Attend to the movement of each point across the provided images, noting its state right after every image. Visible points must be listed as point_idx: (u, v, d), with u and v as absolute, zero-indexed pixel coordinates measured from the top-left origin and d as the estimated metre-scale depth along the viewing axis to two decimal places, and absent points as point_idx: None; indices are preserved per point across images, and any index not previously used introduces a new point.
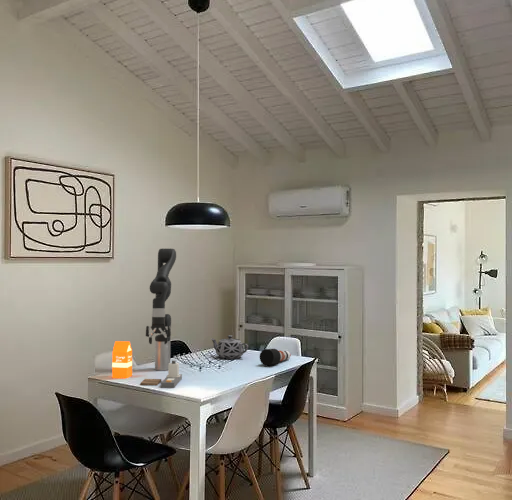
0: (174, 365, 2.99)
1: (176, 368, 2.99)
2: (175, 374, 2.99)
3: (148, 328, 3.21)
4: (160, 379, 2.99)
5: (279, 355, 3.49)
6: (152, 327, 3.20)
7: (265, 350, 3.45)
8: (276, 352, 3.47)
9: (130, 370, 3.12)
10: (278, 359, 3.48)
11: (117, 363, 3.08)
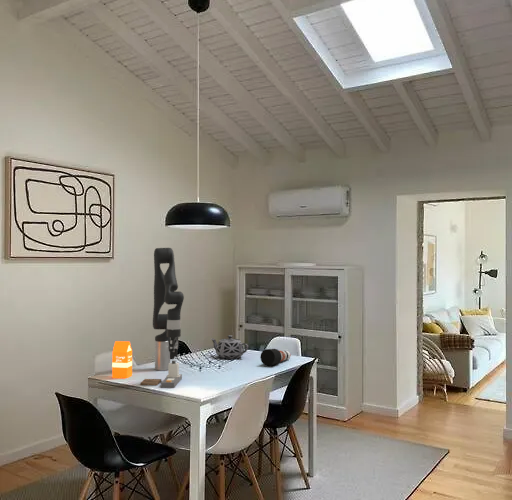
0: (174, 365, 2.99)
1: (176, 368, 2.99)
2: (175, 374, 2.99)
3: None
4: (160, 379, 2.99)
5: (280, 355, 3.49)
6: (174, 341, 2.98)
7: (266, 350, 3.45)
8: (277, 352, 3.47)
9: (130, 370, 3.12)
10: (279, 359, 3.48)
11: (117, 363, 3.08)
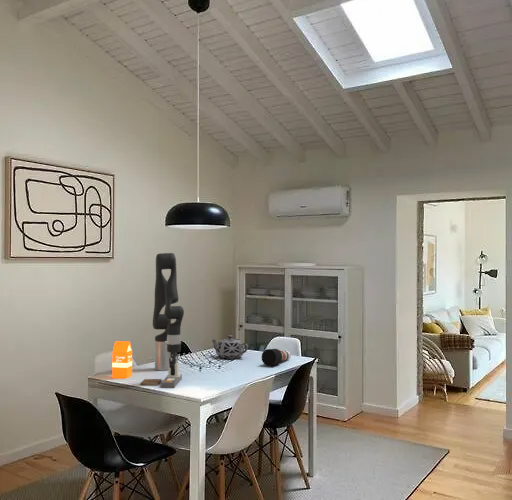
0: None
1: (176, 368, 2.99)
2: (175, 374, 2.99)
3: None
4: (160, 379, 2.99)
5: (281, 355, 3.49)
6: (174, 356, 2.98)
7: (267, 350, 3.44)
8: (278, 352, 3.47)
9: (130, 370, 3.12)
10: (280, 359, 3.48)
11: (117, 363, 3.08)
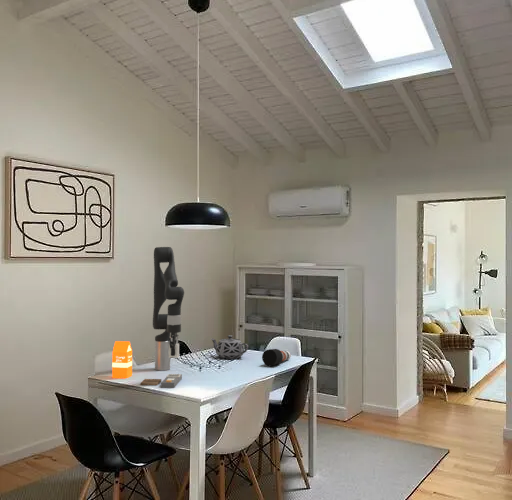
0: None
1: (176, 348, 2.99)
2: (175, 354, 2.99)
3: None
4: (160, 379, 2.99)
5: (281, 355, 3.49)
6: (174, 336, 2.98)
7: (268, 350, 3.44)
8: (278, 352, 3.47)
9: (130, 370, 3.12)
10: (280, 359, 3.47)
11: (117, 363, 3.08)
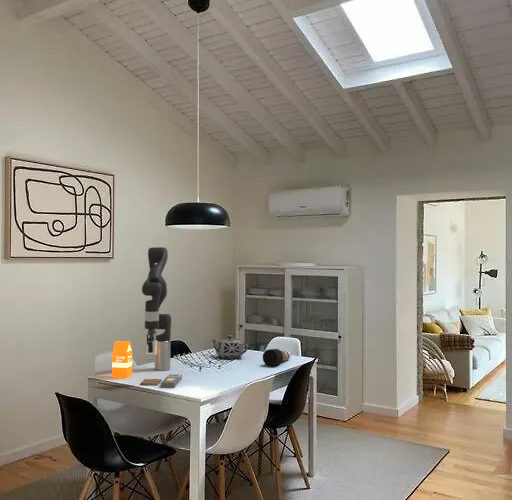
0: None
1: (154, 345, 2.94)
2: (153, 351, 2.94)
3: None
4: (160, 379, 2.99)
5: (282, 355, 3.49)
6: (152, 333, 2.93)
7: (268, 350, 3.44)
8: (279, 352, 3.47)
9: (130, 370, 3.12)
10: (281, 359, 3.47)
11: (117, 363, 3.08)
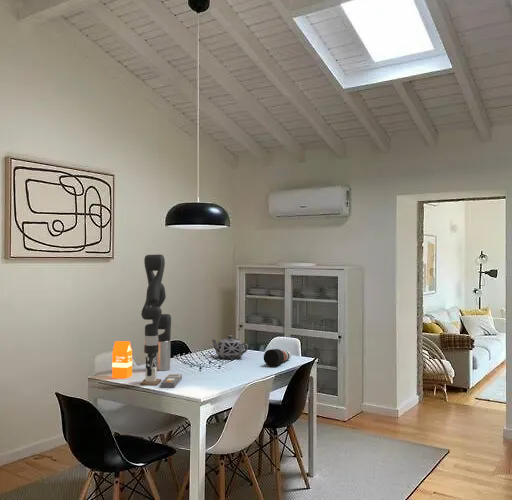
0: None
1: (153, 372, 2.94)
2: (153, 378, 2.94)
3: None
4: (160, 379, 2.99)
5: (282, 355, 3.48)
6: (151, 357, 2.93)
7: (269, 350, 3.44)
8: (280, 352, 3.47)
9: (130, 370, 3.12)
10: (282, 359, 3.47)
11: (117, 363, 3.08)
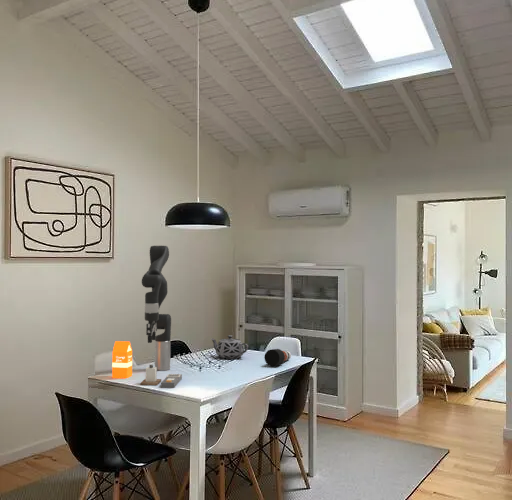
0: (151, 369, 2.94)
1: (153, 372, 2.94)
2: (153, 378, 2.94)
3: None
4: (160, 379, 2.99)
5: (283, 355, 3.48)
6: (152, 324, 2.96)
7: (270, 350, 3.43)
8: (281, 352, 3.46)
9: (130, 370, 3.12)
10: (282, 359, 3.47)
11: (117, 363, 3.08)
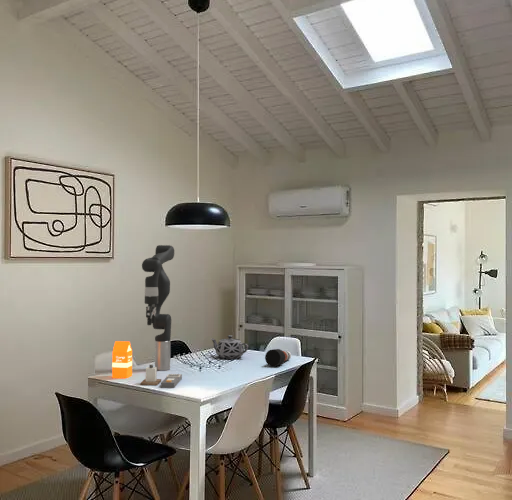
0: (151, 369, 2.94)
1: (153, 372, 2.94)
2: (153, 378, 2.94)
3: None
4: (160, 379, 2.99)
5: (284, 355, 3.48)
6: (151, 307, 3.05)
7: (271, 351, 3.43)
8: (281, 352, 3.46)
9: (130, 370, 3.12)
10: (283, 359, 3.47)
11: (117, 363, 3.08)
